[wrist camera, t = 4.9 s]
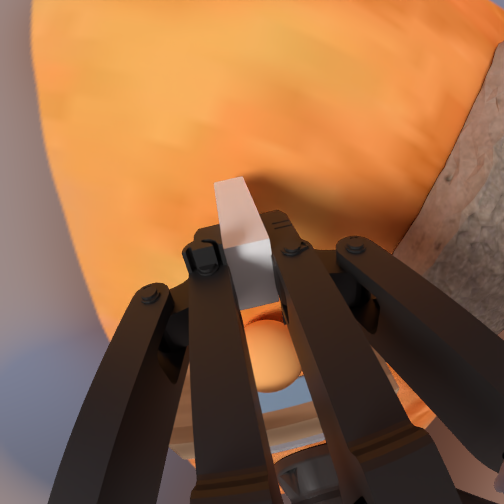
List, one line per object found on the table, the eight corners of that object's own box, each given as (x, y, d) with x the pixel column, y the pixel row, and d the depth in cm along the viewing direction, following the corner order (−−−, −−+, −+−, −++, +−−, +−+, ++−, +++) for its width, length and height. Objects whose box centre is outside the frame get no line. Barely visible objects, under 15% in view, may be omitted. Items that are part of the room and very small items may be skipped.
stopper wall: (320, 425, 36) (324, 439, 34) (249, 442, 36) (252, 457, 34) (320, 421, 36) (325, 437, 34) (247, 439, 35) (250, 455, 33)
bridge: (345, 321, 25) (390, 408, 17) (180, 360, 24) (183, 459, 17) (346, 296, 23) (399, 387, 16) (168, 338, 23) (166, 444, 15)
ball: (307, 380, 23) (319, 383, 18) (241, 396, 23) (235, 404, 18) (291, 318, 25) (298, 304, 20) (226, 333, 25) (217, 323, 20)
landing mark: (327, 415, 35) (327, 416, 35) (238, 437, 34) (238, 438, 34) (330, 367, 28) (331, 369, 28) (214, 395, 28) (214, 397, 28)
